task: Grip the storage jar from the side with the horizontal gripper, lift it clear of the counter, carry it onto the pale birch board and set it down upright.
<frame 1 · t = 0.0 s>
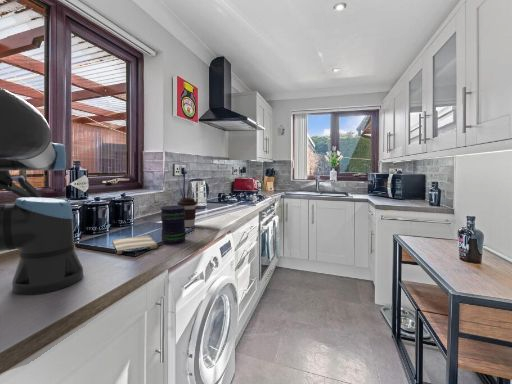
hand: (4, 215, 85), 15 cm above the countertop, tool tilted 35°, fingers open, 13 cm apart
birch board: (134, 245, 104), on the countertop
storage jar: (173, 242, 110), on the countertop
coffee cup: (187, 226, 139), on the countertop
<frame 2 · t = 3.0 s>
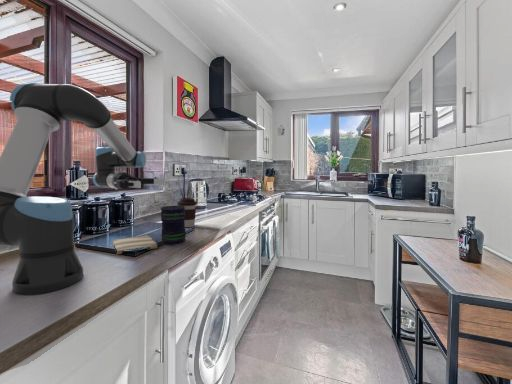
hand: (153, 183, 111), 25 cm above the countertop, tool horizontal, fingers open, 13 cm apart
nothing on the countertop moved.
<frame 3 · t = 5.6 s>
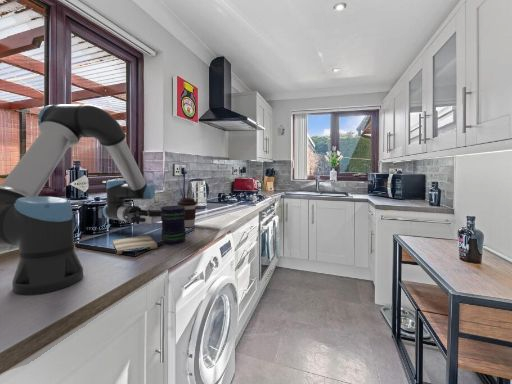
hand: (164, 217, 112), 10 cm above the countertop, tool horizontal, fingers open, 13 cm apart
nothing on the countertop moved.
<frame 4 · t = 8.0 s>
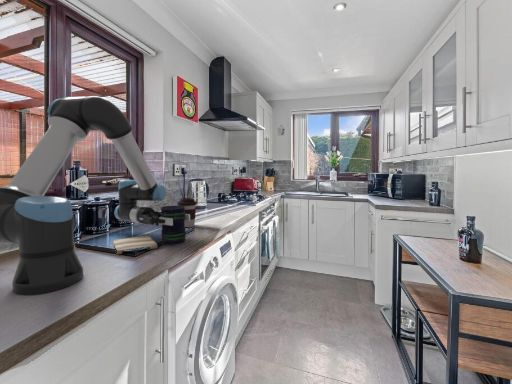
hand: (181, 219, 107), 10 cm above the countertop, tool horizontal, fingers closed on storage jar, 10 cm apart
storage jar: (173, 242, 110), on the countertop, touching gripper
everything else where it was.
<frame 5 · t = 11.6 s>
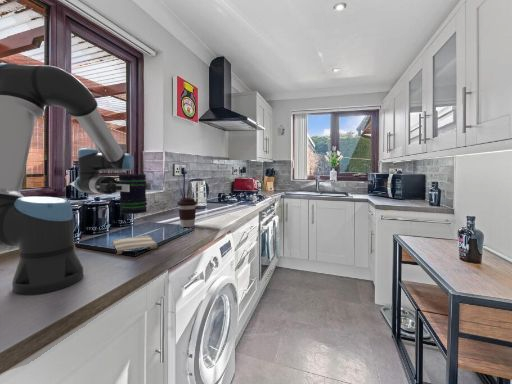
hand: (140, 187, 100), 24 cm above the countertop, tool horizontal, fingers closed on storage jar, 10 cm apart
storage jar: (133, 212, 102), point 14 cm above the countertop, touching gripper
everything else where it was.
when the fingers open (13 cm above the countertop, at t = 15.3 s): storage jar drops 1 cm, resting on birch board.
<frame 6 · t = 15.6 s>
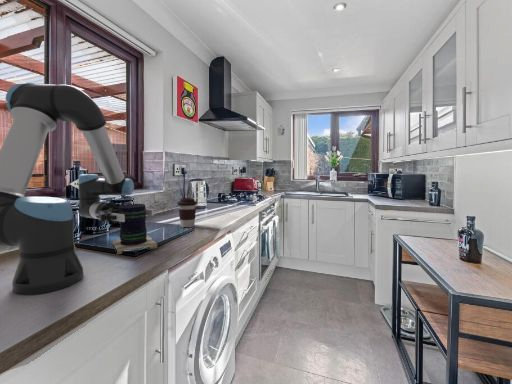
hand: (139, 215, 101), 13 cm above the countertop, tool horizontal, fingers open, 13 cm apart
storage jar: (133, 242, 104), point 1 cm above the countertop, touching birch board
everything else where it was.
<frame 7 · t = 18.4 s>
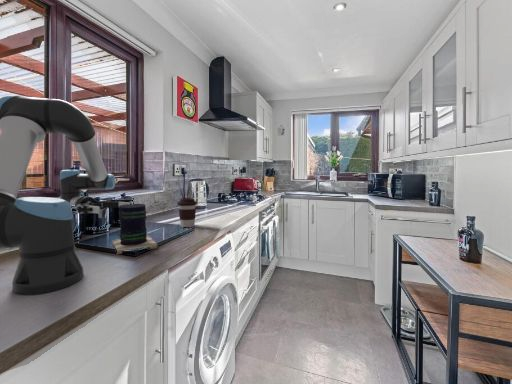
hand: (115, 207, 107), 15 cm above the countertop, tool horizontal, fingers open, 13 cm apart
nothing on the countertop moved.
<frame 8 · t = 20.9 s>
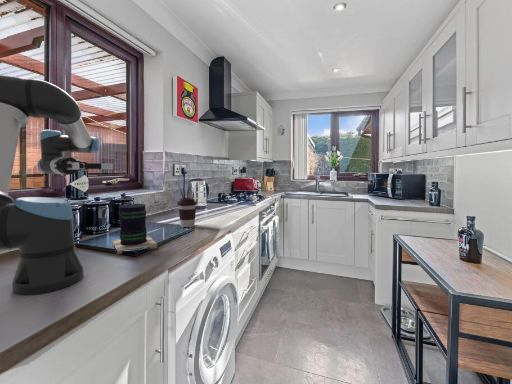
hand: (96, 166, 103), 32 cm above the countertop, tool horizontal, fingers open, 13 cm apart
nothing on the countertop moved.
at the end: storage jar inside the target area on the birch board (0.1 cm from its centre), point 1.3 cm above the birch board's base; storage jar tilted 0°; the gripper is holding nothing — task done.
